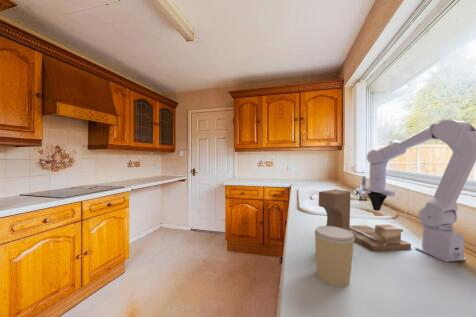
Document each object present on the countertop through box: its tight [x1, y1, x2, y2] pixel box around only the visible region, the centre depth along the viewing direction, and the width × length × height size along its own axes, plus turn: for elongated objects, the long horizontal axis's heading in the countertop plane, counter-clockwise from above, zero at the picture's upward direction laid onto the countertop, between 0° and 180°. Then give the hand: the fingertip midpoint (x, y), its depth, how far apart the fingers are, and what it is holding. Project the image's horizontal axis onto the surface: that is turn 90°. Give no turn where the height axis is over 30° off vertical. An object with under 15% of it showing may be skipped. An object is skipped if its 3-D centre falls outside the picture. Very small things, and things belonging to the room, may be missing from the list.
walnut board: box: [350, 224, 412, 252], centre depth 80 cm, size 20×15×2 cm
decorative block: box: [318, 188, 351, 231], centre depth 69 cm, size 11×6×20 cm, turn 127°
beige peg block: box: [374, 224, 404, 244], centre depth 74 cm, size 5×9×5 cm, turn 100°
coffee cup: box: [314, 225, 355, 288], centre depth 53 cm, size 9×9×12 cm
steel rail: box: [350, 227, 386, 245], centre depth 80 cm, size 20×1×1 cm, turn 10°
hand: (376, 210), depth 88 cm, fingers closed
